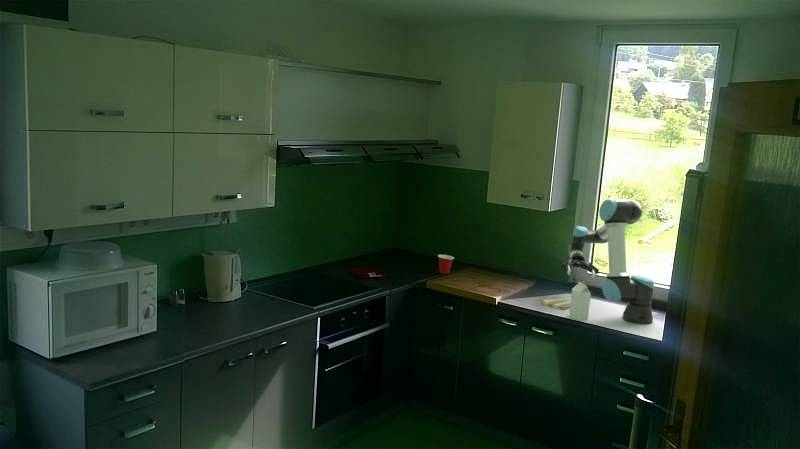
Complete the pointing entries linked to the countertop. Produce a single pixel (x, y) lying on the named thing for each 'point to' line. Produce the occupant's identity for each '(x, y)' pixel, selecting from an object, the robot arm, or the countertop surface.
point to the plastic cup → (445, 263)
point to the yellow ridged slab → (557, 303)
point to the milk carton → (580, 302)
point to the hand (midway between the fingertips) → (581, 274)
